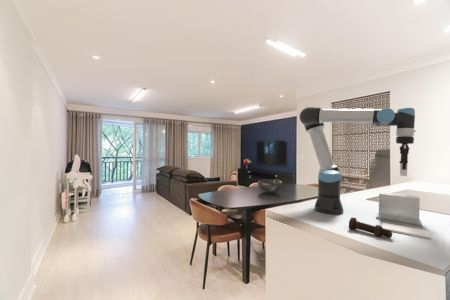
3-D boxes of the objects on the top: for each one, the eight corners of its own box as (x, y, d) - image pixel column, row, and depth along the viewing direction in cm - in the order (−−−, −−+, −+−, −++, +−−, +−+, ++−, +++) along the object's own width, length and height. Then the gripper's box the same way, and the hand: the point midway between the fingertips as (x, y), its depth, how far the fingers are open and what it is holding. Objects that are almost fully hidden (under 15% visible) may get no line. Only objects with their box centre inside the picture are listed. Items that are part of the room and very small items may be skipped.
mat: (381, 229, 98) (381, 227, 98) (382, 224, 106) (382, 222, 106) (430, 239, 88) (430, 237, 88) (427, 232, 96) (427, 230, 96)
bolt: (390, 244, 87) (349, 231, 98) (393, 235, 90) (353, 224, 101) (389, 233, 85) (347, 222, 96) (392, 225, 88) (352, 214, 99)
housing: (376, 218, 114) (376, 193, 114) (377, 214, 122) (377, 191, 122) (422, 226, 103) (422, 199, 103) (420, 221, 111) (420, 196, 111)
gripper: (415, 134, 108) (413, 177, 108) (412, 137, 128) (410, 173, 128) (396, 134, 113) (394, 175, 113) (396, 137, 132) (394, 172, 132)
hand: (403, 174), depth 120 cm, fingers open, 13 cm apart
